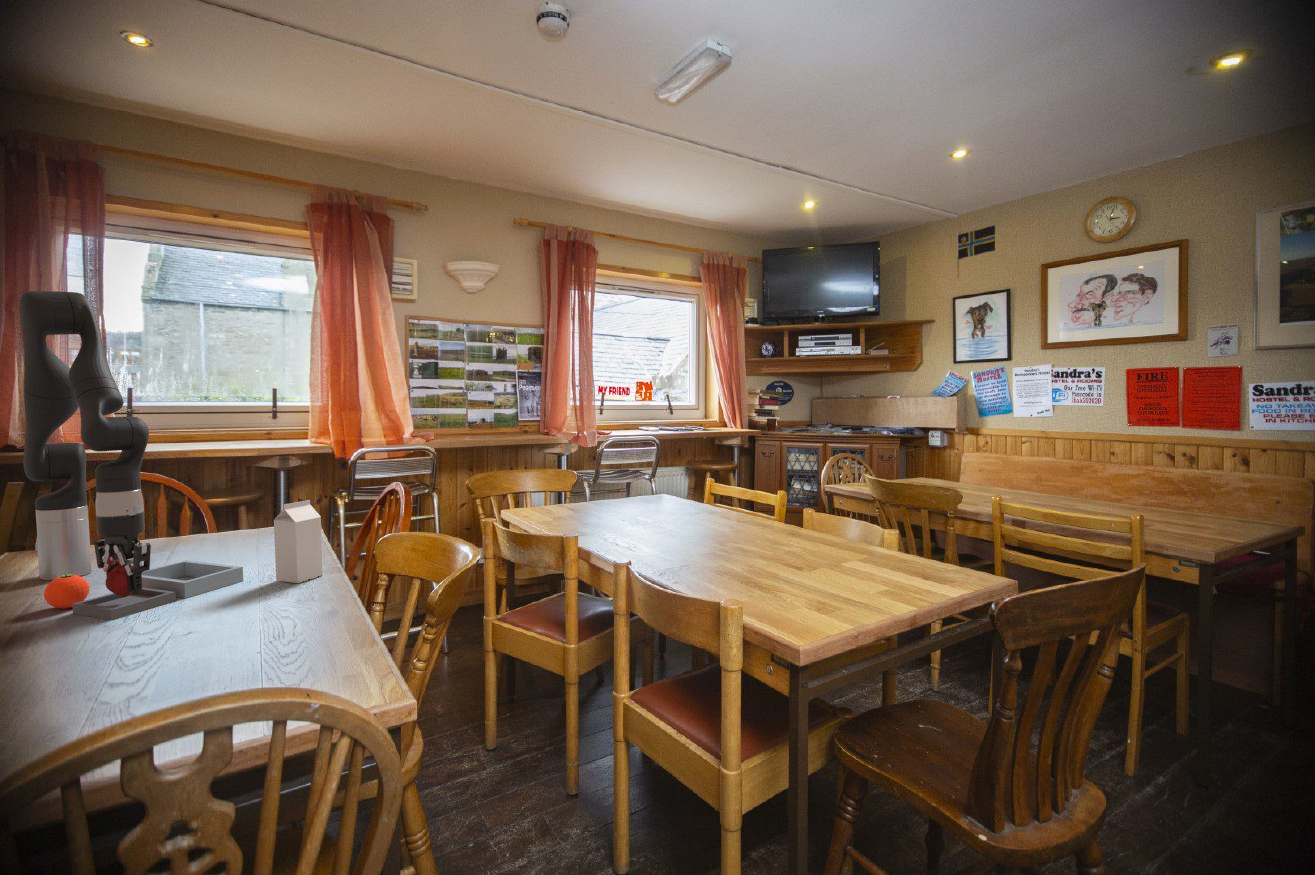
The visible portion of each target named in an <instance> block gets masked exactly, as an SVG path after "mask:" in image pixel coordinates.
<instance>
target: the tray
mask: <svg viewBox="0 0 1315 875" xmlns="http://www.w3.org/2000/svg"><path fill="white" fill-rule="evenodd" d="M173 602H177V597H176V592H173V591H165V590H158V589H151V588H144V587H142V589H141V590H140V591H137V592H133V593H131V594H130V595H128V596H127V597H120V596H118V595H116V594H114V593H112V592H111V593H109V594H104V595H101V596H96V597H94V598H90V599H85V600H84V601H81V602H78V603H74V604H72V607H71V608H72V614H74V615H80V616H85V617H90V618H91V617H93V618H98V619H103V620H109V621H110V620H111V621H113V620H116V619H120V618H123V617H126V616H127V617H128V616H130V615H133V614H137V613H140V612H143V611H147V610H150V609H153V608H157V607H159V606H163V605H167V604H170V603H173Z"/></svg>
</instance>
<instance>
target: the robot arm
mask: <svg viewBox="0 0 1315 875" xmlns="http://www.w3.org/2000/svg"><path fill="white" fill-rule="evenodd" d="M18 312H19V313H18V314H19V321H20V329H21V336H22V343H23V355H24V356H23V357H24V358H23V360H24V361H23V363H24V364H23V366H24V369H23V372H24V373H23V376H24V377H23V402H24V414H25V435H24V436H25V437H24V448H23V469H24V473H25V476H26V478H27V479H28V480H30V481H32V482H52V481H53V482H54V481H65V480H66V481H68V483H67V484H66V485H64V486H63V487H61V488H60V489H59V488H58V489H57V490H55V491H53V492H50V493H46V494H44V495H41V496H39V497H37V498H36V499H35V501H34V507H35V521H36V523H35V524H36V535H37V536H36V538H37V540H36V543H37V545H36V546H37V548H36V549H37V559H38V573H39V574H38V576H40V577H39V578H40V580H41V579H42V580H41V581H53V580H54V579H56V578H58V577H61V576H62V575H68V574H71V575H77V576H80V577H82V576H84V575H88V574H90V573H92V559H91V557H92V555H91V554H92V553H91V540H90V525H89V523H90V522H89V510H88V509H89V507H88V496H87V454H86V453H87V452H86V449H85V447H86V448H88V449H90V450H91V451H93V452H100V453H101V452H113V451H115V452H116V451H121V452H120V454H119V455H118V457H117V458H116V459H114V460H111V461H108V462H107V461H106V462H103V463H100V464H99V465H96V468H95V472H94V475H95V490H96V495H95V503H94V504H95V505H94V506H95V517H96V518H95V519H96V534H97V537H98V536H99V537H100V538H104V539H98V540H94V542H93V546H94V551H95V552H94V553H95V558H96V564H97V568H98V569H103V570H102V571H103V572H104V573H106V574H105V575H106V578H107V576H108V574H109V573H110V572H111V571H112V570H113V569H114V568H115V567H117V566H118V565H119V563H121V565H122V566H125V568H126V571H127V574H128V575H127V582H128V592H131V593H133V592H137V591H140V590H141V589H142V576H141V574H142V572H144V571H147V570H149V569H151V568H150V567H151V551H152V550H151V548H152V545H151V544H150V542H146V543H142V542H141V540H140V538H139V534H140V533H143V532H144V531H145V527H146V526H145V525H146V524H145V509H144V507H145V506H144V496H143V493H142V484H141V483H142V482H141V481H142V480H141V469H142V468H141V467H142V464H143V460H144V455H145V452H146V449H147V446H148V443H149V439H150V431H149V427H148V425H147V424H146V422H145V421H144V420H143V418H140V417H138V416H109V415H111V414H114V413H117V412H118V411H120V410H122V408H123V407H124V399H123V396H122V393H121V392H120V389H119V387H118V385H117V383H116V381H115V378H114V376H113V374H112V372H111V369H110V367H109V363H108V360H107V359H108V358H107V355H106V351H105V347H104V342H103V339H102V335H101V332H100V328H99V325H98V324H99V323H98V321H97V320H98V319H97V317H96V314H95V311H94V309H93V306H92V304H91V302H90V301H89V299H88V298H87V296H85V295H84V294H82V292H81V293H80V292H75V291H55V290H53V291H51V290H30V291H25V292H22V294H21V295H20V298H19V302H18ZM53 335H54V336H55V335H56V336H57V335H58V336H60V335H62V336H63V335H65V336H66V335H79V337H80V340H81V343H80V348H79V351H78V353H77V355H76V357H74V358H75V359H74V360H73V362H72V364H71V366H69V365H68V364H66V363H65V362H64V361H63V360H62V359H61V358H59V357H58V355H56V354H55V352H54V351H53V350H52V349H51V347H50V346H49V345H48V343H47V336H53ZM78 409H79V413H80V439H81V442H82V443H80V442H57V443H56V442H54V443H49V442H48V440H49V439H50V438H51V436H52V435H53V434H54V433H55V432H56V430H58V429H59V428H60V427H61V426H62V425H63V424H65V423H66V422H68V420H70V418H72V417H73V416H74V415H75V413H77V411H78ZM107 415H108V416H107ZM106 416H107V417H106ZM47 442H48V443H47ZM83 445H84V446H85V447H84V446H83ZM131 565H133V569H132V566H131Z"/></svg>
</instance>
